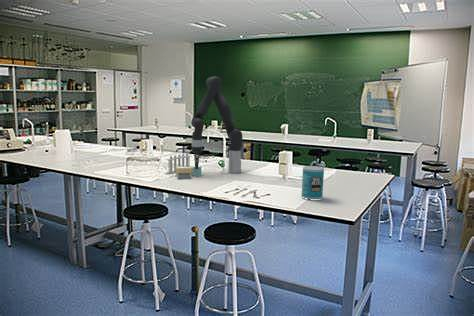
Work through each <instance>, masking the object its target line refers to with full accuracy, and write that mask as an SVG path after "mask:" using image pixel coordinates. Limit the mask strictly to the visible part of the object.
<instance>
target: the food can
mask: <svg viewBox="0 0 474 316" xmlns="http://www.w3.org/2000/svg"><path fill="white" fill-rule="evenodd" d="M324 169H325V168H324V167H322V166H316V165H305V166H303V167H302V176H301V177H302V178H301V198H302V197H304V198H307V199H321V198H322V199H323V195H324V194H323V192H324V191H323V190H324V179H325V178H324V177H325V176H324V175H325V170H324ZM322 199H321V200H322Z"/></svg>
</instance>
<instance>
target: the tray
mask: <svg viewBox="0 0 474 316" xmlns="http://www.w3.org/2000/svg"><path fill="white" fill-rule="evenodd" d="M177 180H192V176H191V173H178V176H177Z"/></svg>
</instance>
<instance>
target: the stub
mask: <svg viewBox="0 0 474 316" xmlns="http://www.w3.org/2000/svg"><path fill="white" fill-rule="evenodd" d="M192 168H193V176H192V177H202V166H198V169H195V166H192Z"/></svg>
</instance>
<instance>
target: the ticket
mask: <svg viewBox="0 0 474 316" xmlns="http://www.w3.org/2000/svg"><path fill="white" fill-rule="evenodd" d="M178 173H191V177H194V176H193V166H190V167H189V166H188V167H186V166H184V167H182V166H181V167H178V166H176V173H175V177H178Z"/></svg>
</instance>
